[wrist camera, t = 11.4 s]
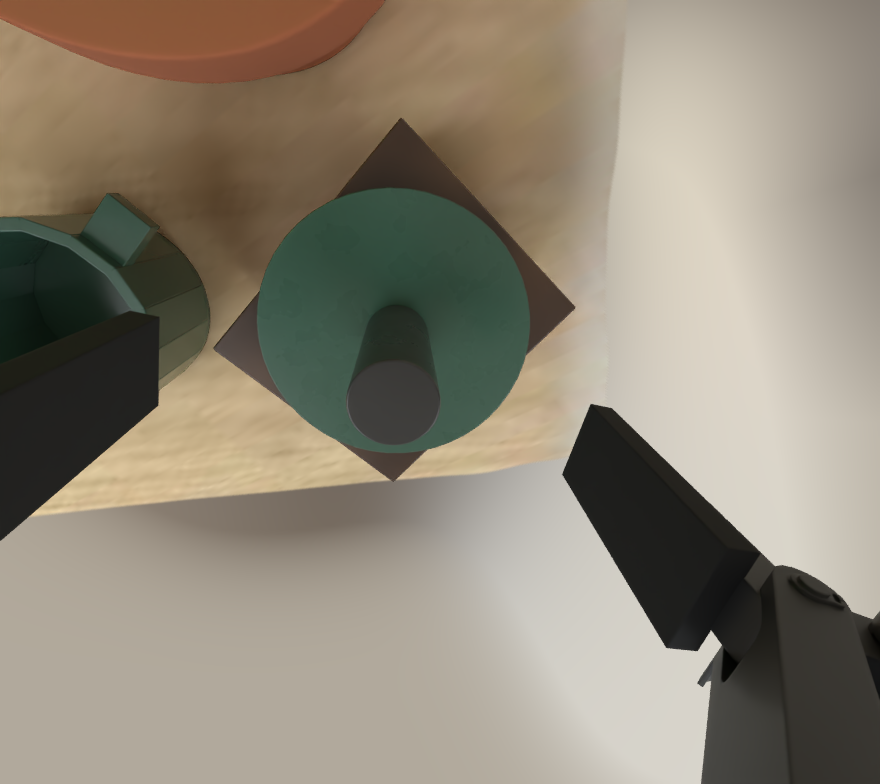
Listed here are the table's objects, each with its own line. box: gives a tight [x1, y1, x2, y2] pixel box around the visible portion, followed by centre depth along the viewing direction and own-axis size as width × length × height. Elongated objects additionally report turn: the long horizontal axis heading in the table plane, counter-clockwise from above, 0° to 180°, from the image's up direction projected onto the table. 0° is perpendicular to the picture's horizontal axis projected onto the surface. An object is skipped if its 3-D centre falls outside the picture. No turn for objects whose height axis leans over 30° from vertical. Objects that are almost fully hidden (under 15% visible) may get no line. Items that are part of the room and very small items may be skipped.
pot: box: [0, 193, 210, 390], centre depth 28 cm, size 12×17×8 cm
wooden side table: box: [214, 118, 575, 482], centre depth 28 cm, size 12×14×11 cm
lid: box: [257, 187, 530, 453], centre depth 18 cm, size 13×13×9 cm
